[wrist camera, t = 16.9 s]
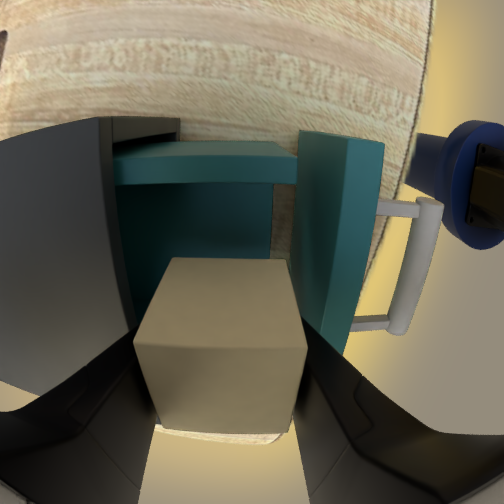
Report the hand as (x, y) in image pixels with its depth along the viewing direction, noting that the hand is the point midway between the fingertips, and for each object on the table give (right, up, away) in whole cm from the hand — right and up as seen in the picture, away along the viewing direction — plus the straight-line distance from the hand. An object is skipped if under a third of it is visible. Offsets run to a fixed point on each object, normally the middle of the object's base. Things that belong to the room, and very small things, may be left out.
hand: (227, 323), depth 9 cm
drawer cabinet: (-11, +4, +8) cm, 14 cm away
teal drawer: (0, +3, +8) cm, 8 cm away
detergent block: (0, 0, +1) cm, 1 cm away
